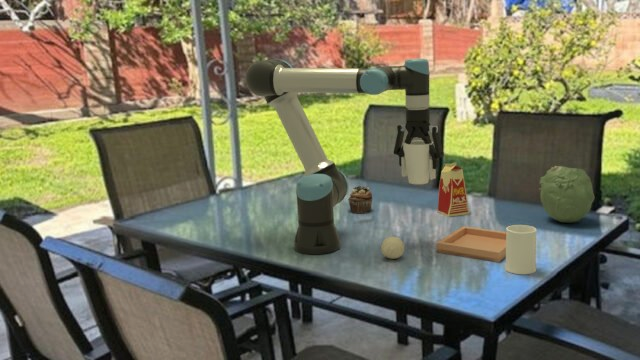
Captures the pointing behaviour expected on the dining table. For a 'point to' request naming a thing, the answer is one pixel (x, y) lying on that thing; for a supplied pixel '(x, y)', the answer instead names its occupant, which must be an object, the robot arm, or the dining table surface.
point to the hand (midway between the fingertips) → (418, 177)
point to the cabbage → (566, 193)
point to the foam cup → (417, 161)
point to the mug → (520, 249)
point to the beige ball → (392, 247)
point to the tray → (475, 244)
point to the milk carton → (452, 192)
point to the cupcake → (360, 200)
